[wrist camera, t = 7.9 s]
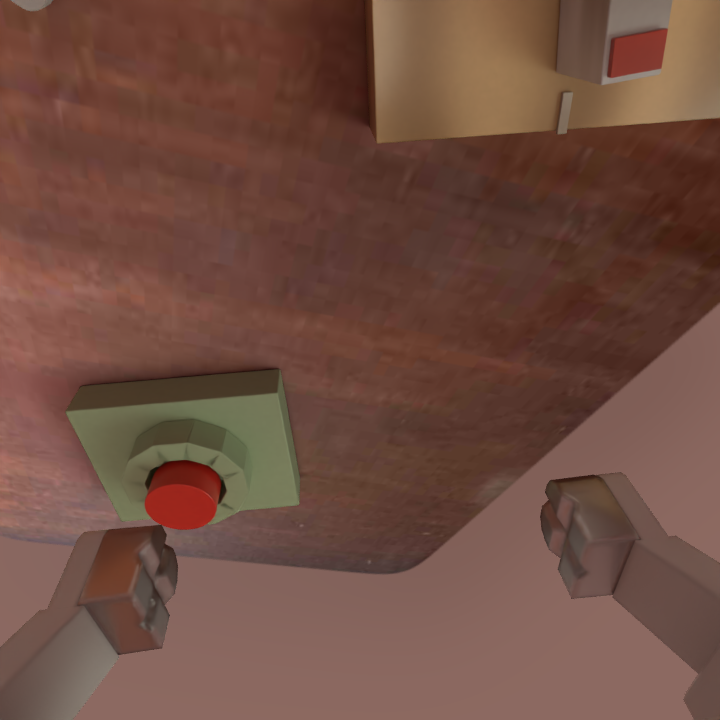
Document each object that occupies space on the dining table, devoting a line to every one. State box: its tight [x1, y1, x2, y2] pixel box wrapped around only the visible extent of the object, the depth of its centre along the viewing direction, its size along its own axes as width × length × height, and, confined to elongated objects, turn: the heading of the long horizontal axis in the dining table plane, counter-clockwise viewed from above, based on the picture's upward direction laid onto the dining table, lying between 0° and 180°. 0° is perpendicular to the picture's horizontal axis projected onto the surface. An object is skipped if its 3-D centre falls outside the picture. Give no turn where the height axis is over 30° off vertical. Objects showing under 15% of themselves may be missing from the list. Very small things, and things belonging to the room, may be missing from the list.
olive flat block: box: [65, 369, 300, 525], centre depth 29 cm, size 11×9×4 cm
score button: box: [144, 460, 221, 530], centre depth 27 cm, size 4×4×2 cm
